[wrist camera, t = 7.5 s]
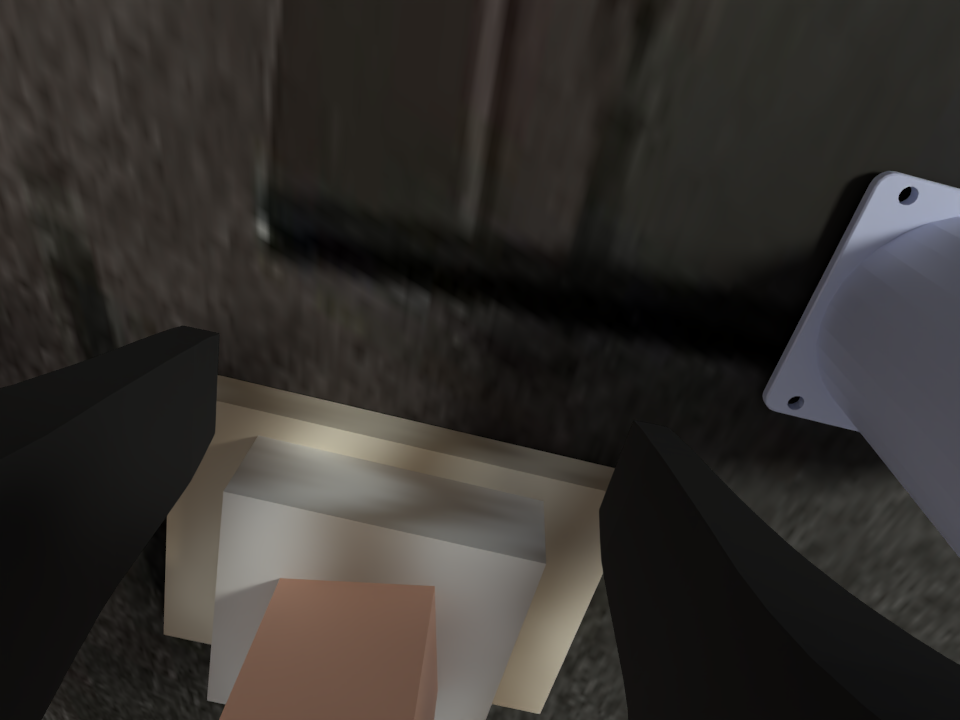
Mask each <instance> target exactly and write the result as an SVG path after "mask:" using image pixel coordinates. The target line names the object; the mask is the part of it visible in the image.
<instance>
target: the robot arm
mask: <svg viewBox="0 0 960 720" xmlns="http://www.w3.org/2000/svg"><path fill="white" fill-rule="evenodd" d="M907 187H911V194H910V196H909V197H908V198H907V199H906V200H904V201H902V202H899V200H898V197H899V194H900V192H901V191H902V190H903V189H905V188H907ZM218 354H219V333H216V332H211V331H206V330H201V329H197V328H192V327H187V326H180V327H176V328H172V329H169V330H166V331H163V332H160V333H158V334H155V335H152V336H149V337H147V338H144V339H141V340H139V341H136V342H133V343H131V344H128V345H126V346H123V347H120V348H118V349H115V350H112V351H110V352H107V353H104V354H102V355H99V356H96V357H94V358H91V359H88V360H86V361H83V362H80V363H77V364H74V365H71V366H68V367H65V368H62V369H59V370H56V371H53V372H50V373H47V374H44V375H41V376H38V377H35V378H32V379H29V380H26V381H23V382H20V383H17V384H14V385H11V386H7V387H4V388H0V720H42V718H43V716H44V714H45V712H46V710H47V708H48V707H49V705H50V703H51V701H52V699H53V697H54V695H55V693H56V692H57V690H58V688H59V686H60V684H61V682H62V680H63V678H64V676H65V675H66V673H67V671H68V669H69V667H70V665H71V664H72V662H73V660H74V658H75V656H76V655H77V653H78V651H79V649H80V648H81V646H82V644H83V642H84V640H85V639H86V637H87V635H88V633H89V631H90V630H91V628H92V626H93V624H94V623H95V621H96V619H97V617H98V615H99V614H100V612H101V610H102V609H103V607H104V606H105V604H106V602H107V601H108V599H109V598H110V596H111V595H112V593H113V592H114V590H115V589H116V587H117V585H118V584H119V583H120V581H121V580H122V578H123V577H124V576H125V574H126V573H127V571H128V570H129V569H130V567H131V566H132V564H133V563H134V562H135V560H136V559H137V557H138V556H139V554H140V553H141V552H142V550H143V549H144V547H145V546H146V545H147V543H148V542H149V540H150V539H151V538H152V536H153V535H154V533H155V532H156V531H157V529H158V528H159V526H160V525H161V524H162V522H163V521H164V519H165V518H166V516H167V515H168V514H169V512H170V511H171V509H172V508H173V506H174V505H175V504H176V502H177V501H178V499H179V498H180V496H181V495H182V494H183V492H184V491H185V489H186V488H187V486H188V485H189V483H190V482H191V480H192V478H193V476H194V474H195V473H196V471H197V469H198V467H199V465H200V463H201V461H202V459H203V457H204V455H205V453H206V451H207V449H208V447H209V445H210V443H211V441H212V439H213V437H214V435H215V427H216V403H217V378H218ZM762 396H763V401H764V402H765V404H766V406H767V407H768V408H769V409H770V410H773V411H775V412H779V413H783V414H787V415H792V416H796V417H800V418H804V419H808V420H812V421H816V422H820V423H824V424H828V425H833V426H837V427H841V428H845V429H849V430H853V431H857V432H860V433H861V434H862V436H863V437H864V438H865V439H866V441H867V442H868V443H869V444H870V446H871V447H872V448H873V449H874V451H875V452H876V453H877V454H878V456H879V457H880V458H881V459H882V461H883V462H884V463H885V464H886V466H887V467H888V468H889V470H890V471H891V472H892V473H893V475H894V476H895V477H896V478H897V480H898V481H899V482H900V483H901V485H902V486H903V487H904V488H905V490H906V491H907V492H908V493H909V495H910V496H911V497H912V498H913V500H914V501H915V502H916V503H917V505H918V506H919V507H920V509H921V510H922V511H923V512H924V514H925V515H926V516H927V517H928V519H929V520H930V521H931V522H932V524H933V525H934V526H935V527H936V529H937V530H938V531H939V532H940V534H941V535H942V536H943V537H944V539H945V540H946V541H947V542H948V544H949V545H950V546H951V548H952V549H953V550H954V551H955V553H956V554H957V555H958V556H959V558H960V189H959V188H955V187H952V186H948V185H944V184H940V183H937V182H933V181H929V180H926V179H922V178H918V177H914V176H911V175H907V174H903V173H899V172H896V171H886V172H883V173H880V174H879V175H877V176H876V177H875V178H874V179H873V180H872V181H871V183H870V184H869V186H868V188H867V190H866V192H865V194H864V196H863V198H862V200H861V202H860V203H859V205H858V207H857V209H856V211H855V213H854V215H853V217H852V219H851V221H850V223H849V225H848V227H847V229H846V231H845V233H844V235H843V237H842V239H841V241H840V243H839V245H838V246H837V248H836V250H835V252H834V254H833V256H832V258H831V260H830V262H829V264H828V266H827V268H826V270H825V272H824V274H823V276H822V278H821V280H820V282H819V284H818V286H817V288H816V289H815V291H814V293H813V295H812V297H811V299H810V301H809V303H808V305H807V307H806V309H805V311H804V313H803V315H802V317H801V319H800V321H799V323H798V325H797V327H796V329H795V331H794V332H793V334H792V336H791V338H790V340H789V342H788V344H787V346H786V348H785V350H784V352H783V354H782V356H781V358H780V360H779V362H778V364H777V366H776V368H775V370H774V372H773V374H772V375H771V377H770V379H769V381H768V383H767V385H766V387H765V389H764V392H763V395H762ZM795 396H800V398H799V400H798V401H797V402H795V403H793V404H788V401H789V400H790V399H791V398H792V397H795ZM599 529H600V550H601V563H602V568H603V574H604V580H605V585H606V591H607V596H608V601H609V607H610V612H611V617H612V622H613V627H614V632H615V638H616V643H617V648H618V653H619V658H620V664H621V669H622V674H623V679H624V686H625V693H626V700H627V707H628V719H629V720H960V665H959V664H957V663H955V662H954V661H952V660H950V659H948V658H947V657H945V656H943V655H942V654H940V653H939V652H937V651H935V650H934V649H932V648H931V647H929V646H927V645H926V644H924V643H923V642H921V641H919V640H918V639H916V638H915V637H913V636H912V635H910V634H908V633H907V632H906V631H904V630H903V629H901V628H900V627H898V626H897V625H895V624H894V623H892V622H891V621H889V620H888V619H886V618H885V617H883V616H882V615H880V614H879V613H878V612H876V611H875V610H873V609H872V608H870V607H869V606H867V605H866V604H864V603H863V602H862V601H860V600H859V599H858V598H856V597H855V596H853V595H852V594H851V593H849V592H848V591H847V590H845V589H844V588H843V587H841V586H840V585H839V584H837V583H836V582H835V581H834V580H832V579H831V578H830V577H829V576H827V575H826V574H825V573H823V572H822V571H821V570H820V569H818V568H817V567H816V566H815V565H813V564H812V563H811V562H809V561H808V560H807V559H806V558H805V557H803V556H802V555H801V554H800V553H799V552H797V551H796V550H795V549H794V548H793V547H792V546H790V545H789V544H788V543H787V542H786V541H785V540H784V539H783V538H781V537H780V536H779V535H778V534H777V533H776V532H775V531H774V530H773V529H772V528H770V527H769V526H768V525H767V524H766V523H765V522H764V521H763V520H762V519H761V518H759V517H758V516H757V515H756V514H755V513H754V512H753V511H752V510H751V509H750V508H749V507H748V506H747V505H746V504H745V503H744V502H743V501H742V500H741V499H740V498H739V497H738V496H737V495H736V494H735V493H734V492H733V491H732V490H731V489H730V488H729V487H728V486H727V485H726V484H725V483H724V482H723V481H722V480H721V479H720V478H719V477H718V476H717V475H716V474H715V473H714V472H713V471H712V470H711V469H710V468H709V467H708V466H707V465H706V464H705V463H704V462H703V461H702V460H701V459H700V458H699V456H698V455H697V454H696V453H695V452H694V451H693V450H692V449H691V448H690V447H689V446H688V445H687V444H686V443H685V442H684V441H683V440H682V439H681V438H679V437H678V436H677V435H676V434H675V433H674V432H673V431H672V430H670V429H669V428H668V427H665V426H660V425H656V424H651V423H646V422H641V421H636V420H634V421H633V423H632V426H631V428H630V431H629V433H628V436H627V439H626V441H625V444H624V446H623V449H622V451H621V454H620V457H619V459H618V462H617V464H616V467H615V470H614V472H613V475H612V477H611V480H610V482H609V485H608V488H607V490H606V493H605V495H604V498H603V501H602V503H601V506H600V508H599Z"/></svg>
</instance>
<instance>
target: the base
mask: <svg viewBox="0 0 960 720" xmlns="http://www.w3.org/2000/svg"><path fill="white" fill-rule="evenodd" d="M614 470H615V468H612V467H607V466H603V465H599V464H595V463H590V462H586V461H582V460H578V459H573V458H569V457H565V456H561V455H556V454H552V453H548V452H544V451H539V450H535V449H531V448H527V447H522V446H518V445H514V444H510V443H505V442H501V441H497V440H492V439H488V438H484V437H480V436H475V435H471V434H467V433H463V432H458V431H454V430H450V429H446V428H441V427H437V426H433V425H429V424H424V423H420V422H416V421H412V420H407V419H403V418H399V417H395V416H390V415H386V414H382V413H378V412H373V411H369V410H365V409H361V408H356V407H352V406H348V405H343V404H339V403H335V402H331V401H326V400H322V399H318V398H314V397H309V396H305V395H301V394H297V393H292V392H288V391H284V390H280V389H275V388H271V387H267V386H263V385H258V384H254V383H250V382H246V381H241V380H237V379H233V378H229V377H224V376H220V375H218V378H217V403H216V427H215V435H214V437H213V439H212V441H211V443H210V445H209V447H208V449H207V451H206V453H205V455H204V457H203V459H202V461H201V463H200V465H199V467H198V469H197V471H196V473H195V474H194V476H193V478H192V480H191V482H190V483H189V485H188V486H187V488H186V489H185V491H184V492H183V494H182V495H181V496H180V498H179V499H178V501H177V502H176V504H175V505H174V506H173V508H172V509H171V511H170V512H169V514H168V515H167V535H166V570H165V605H164V635H168V636H173V637H178V638H182V639H187V640H192V641H197V642H201V643H206V644H211V656H210V669H209V682H208V695H207V701H212V702H217V703H221V704H226V703H227V700H228V698H229V696H230V693H231V691H232V689H233V686H234V684H235V682H236V679H237V677H238V675H239V672H240V670H241V668H242V665H243V663H244V661H245V658H246V656H247V654H248V651H249V649H250V647H251V644H252V642H253V640H254V637H255V635H256V633H257V630H258V628H259V626H260V623H261V621H262V619H263V616H264V614H265V612H266V609H267V607H268V605H269V603H270V600H271V598H272V596H273V593H274V591H275V589H276V586H277V584H278V582H279V579H280V578H286V579H306V580H325V581H345V582H364V583H384V584H403V585H423V586H435V611H436V646H437V681H438V692H437V700H436V708H435V716H434V720H486V717H487V715H488V712H489V709H490V707H491V704H495V705H499V706H504V707H509V708H514V709H518V710H523V711H528V712H533V713H537V714H540V713H541V710H542V708H543V706H544V704H545V701H546V699H547V697H548V695H549V692H550V690H551V688H552V686H553V683H554V681H555V679H556V677H557V675H558V672H559V670H560V668H561V666H562V663H563V661H564V659H565V657H566V654H567V652H568V650H569V648H570V645H571V643H572V641H573V639H574V636H575V634H576V632H577V630H578V628H579V625H580V623H581V621H582V619H583V616H584V614H585V612H586V610H587V607H588V605H589V603H590V601H591V598H592V596H593V594H594V592H595V589H596V587H597V585H598V583H599V581H600V578H601V576H602V574H603V568H602V563H601V550H600V529H599V508H600V506H601V503H602V501H603V498H604V495H605V493H606V490H607V488H608V485H609V482H610V480H611V477H612V475H613V472H614Z"/></svg>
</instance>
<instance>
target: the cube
mask: <svg viewBox="0 0 960 720" xmlns="http://www.w3.org/2000/svg"><path fill="white" fill-rule="evenodd" d="M437 692H438V681H437V646H436V611H435V586H423V585H403V584H384V583H364V582H345V581H325V580H306V579H286V578H280V579H279V582H278V584H277V586H276V589H275V591H274V593H273V596H272V598H271V600H270V603H269V605H268V607H267V609H266V612H265V614H264V616H263V619H262V621H261V623H260V626H259V628H258V630H257V633H256V635H255V637H254V640H253V642H252V644H251V647H250V649H249V651H248V654H247V656H246V658H245V661H244V663H243V665H242V668H241V670H240V672H239V675H238V677H237V679H236V682H235V684H234V686H233V689H232V691H231V693H230V696H229V698H228V700H227V703H226V705H225V707H224V710H223V712H222V714H221V717H220V719H219V720H434V716H435V708H436V700H437Z"/></svg>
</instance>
